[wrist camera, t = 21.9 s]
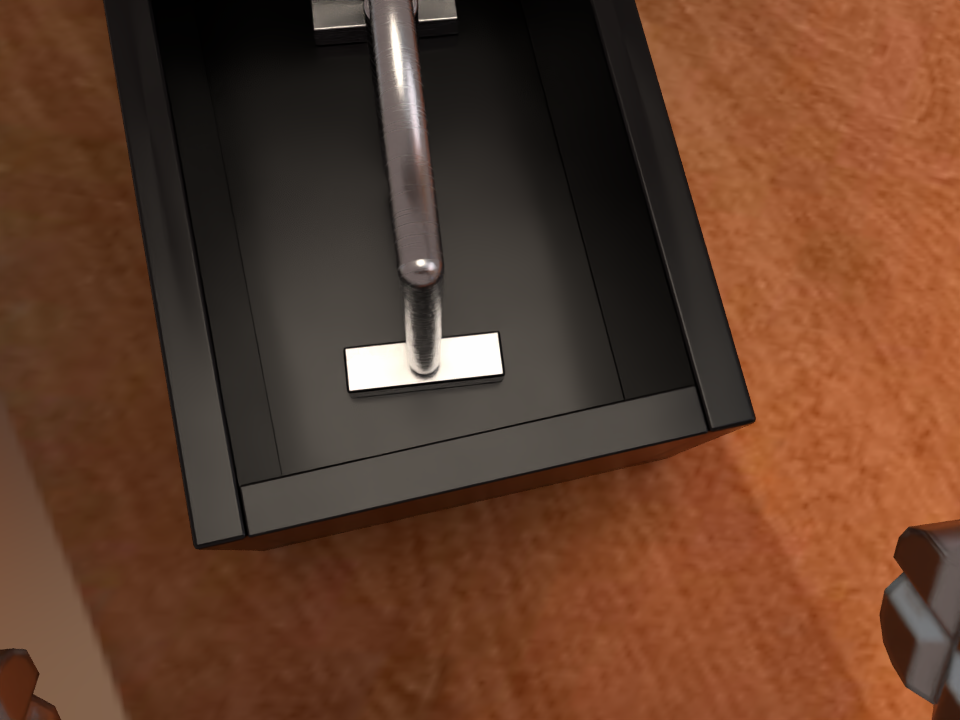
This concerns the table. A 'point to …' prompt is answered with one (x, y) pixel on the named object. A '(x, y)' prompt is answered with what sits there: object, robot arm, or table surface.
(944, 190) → the table surface
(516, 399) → the oven
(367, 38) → the rack
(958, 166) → the table surface
